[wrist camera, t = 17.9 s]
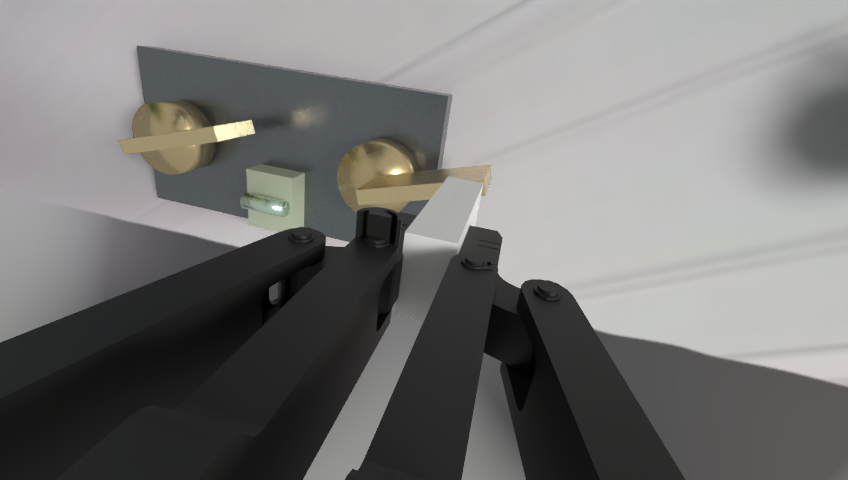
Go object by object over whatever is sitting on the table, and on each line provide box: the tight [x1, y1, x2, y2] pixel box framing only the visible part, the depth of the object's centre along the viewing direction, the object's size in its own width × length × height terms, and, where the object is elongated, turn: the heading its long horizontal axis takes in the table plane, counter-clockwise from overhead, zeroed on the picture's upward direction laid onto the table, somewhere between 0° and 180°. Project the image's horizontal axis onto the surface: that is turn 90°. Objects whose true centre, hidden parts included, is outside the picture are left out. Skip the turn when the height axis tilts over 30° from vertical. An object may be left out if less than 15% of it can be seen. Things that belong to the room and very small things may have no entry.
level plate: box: [137, 46, 452, 242], centre depth 41 cm, size 32×16×6 cm, turn 82°
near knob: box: [337, 138, 492, 213], centre depth 35 cm, size 14×7×8 cm, turn 99°
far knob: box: [119, 100, 255, 175], centre depth 39 cm, size 14×7×8 cm, turn 99°
